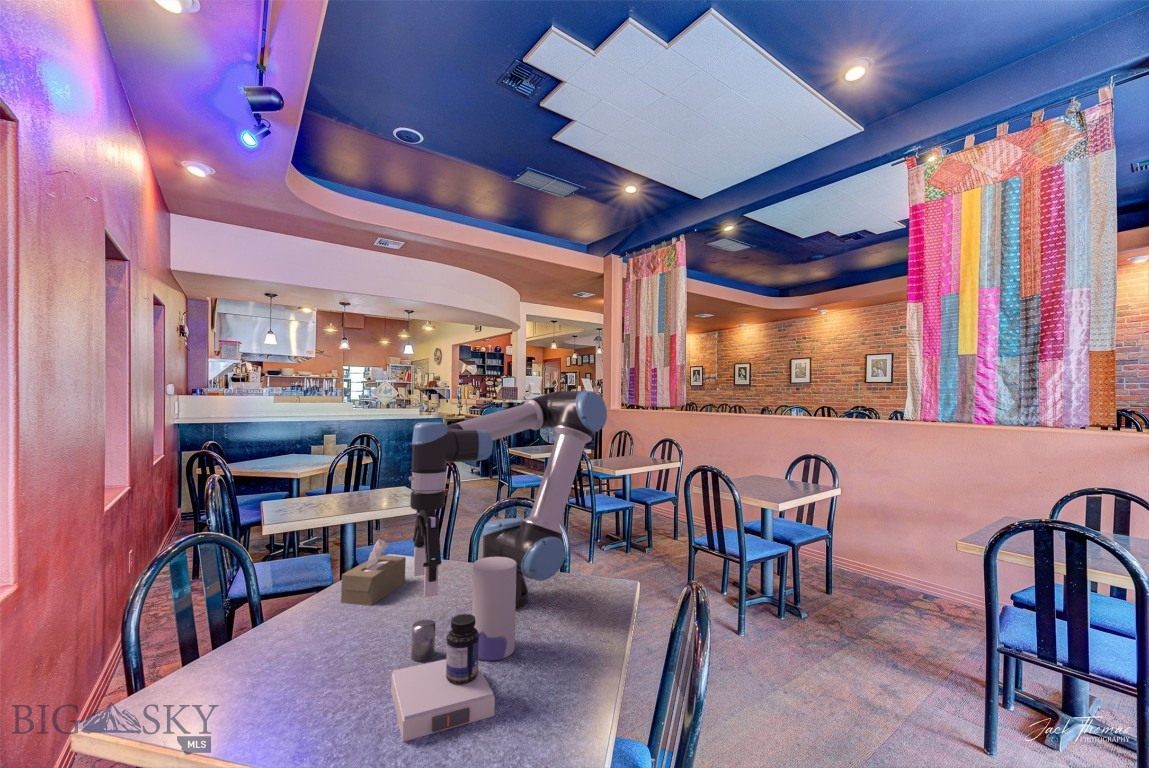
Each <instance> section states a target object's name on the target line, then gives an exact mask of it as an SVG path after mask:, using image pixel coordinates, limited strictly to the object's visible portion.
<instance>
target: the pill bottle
mask: <svg viewBox="0 0 1149 768" xmlns="http://www.w3.org/2000/svg"><path fill="white" fill-rule="evenodd" d="M474 626H475V617H474V616H473V615H472V614H470V613H461V614H457V615H455V616H453V617H452V618H451V620H450V628H451V630H450V631H448V634H447V635H446V658H445V659H446V678H447V680H448V681H449V682H451V683H454V684H465V683H468V682H470V681H472V680H473V679H475V678H476V676H477V674H478V667H479V659H478V650H479V633H478V631H477V629H476V628H474Z"/></svg>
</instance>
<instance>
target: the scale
mask: <svg viewBox="0 0 1149 768" xmlns="http://www.w3.org/2000/svg"><path fill="white" fill-rule="evenodd" d="M390 687H391V689H390V692H391V697H392V701H393V704H394V705H393V706H394V709H395V713H396V719H397V724H398V728H399V732H400V736H401V741H402V743H405V742H408V741H412V740H415V739H418V738H421V737H425V736H426V737H427V736H429V735H431V734H432V735H433V734H435V733H439V732H443V731H446V730H449V729H453V728H456V727H460V726H463V725H466V724H467V725H468V724H471V723H474V722H478V721H481V720H485V719H488V718H492V717H495V704H496V702H495V701H496V700H495V699H496V697H495V695H494V692H493V690H492V688H491V687H490V685H489V683H488V681H487V679H486V677H485V675H484V674H483V673H482V670H481V669H480V667H479V666H478V674H477V676H476V678H475V679H473V680H472V681H470V682H468V683H465V684H454V683H451V682H449V681H448V680H447V678H446V658H444V659H440V660H436V661H432V662H426V663H421V664H418V665H414V666H409V667H405V668H404V667H403V668H400V669H399V668H398V669H394V670H393V671H392V673H391V686H390Z"/></svg>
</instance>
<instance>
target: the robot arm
mask: <svg viewBox="0 0 1149 768" xmlns="http://www.w3.org/2000/svg"><path fill="white" fill-rule="evenodd" d="M607 419H608V409H607V406H606V402H605V401H604V399H603V397H602V396H601V395H600V394H599V393H597V392H595V391H591V390H585V389H584V390H557V391H552V392H550V393H546V394H542V395H539V396H537V397H533V398H529V399H527V400H525V401H524V403H522V404H521V405H517V406H513V407H510V408H507V409H506V408H505V409H502V410H499V411H496V412H491V413H488V414H484V415H481V416H478V417H477V416H476V417H474V418H470V419H466V420H461V421H459V422H456V423H452V424H448V425H447V423H445V422H433V421H432V422H429V421H428V422H427V421H425V422H417V423H415V425H414V426H413V433H412V442H411V444H412V446H411V449H412V453H411V455H412V456H411V457H412V458H411V474H412V476H411V475H409V477H408V481H410V482H411V483H410V485H411V490H412V491H411V492H410V501H409V503H410V505H409V506H410V508H411V509H412V510H414V511H416V516H415V522H414V531H413V538H412V541H413V546H414V550H413V551H414V553H413V554H414V555H413V577H421V576H424V582H423V583H424V584H423V597H424V598H428V597H436V596H438V590H439V589H438V588H439V587H438V586H439V566H440V565H442V556H441V555H442V554H441V539H440V517H439V516H436V511H437V510H441V509H442V508H444V507H445V505H446V492H445V491H444V489H446V485H447V484H446V483H447V482H446V481H447V463H448V464H449V463H460V462H462V463H463V462H478V461H482V460H487V459H489V457H490V456H491V455H492V453H493V445H494V442H493V441H495V440H499V439H502V438H505V437H508V436H511V435H513V434H517V433H520V432H524V431H527V430H529V429H530V430H533V431H538V430H541V429H547V428H548V429H550V428H551V429H553V430H554V432H555V433H556V438H555V440H554V443H553V446H552V449H551V452H550V455H549V458H548V462H547V465H546V467H545V470H544V472H543V476H542V478H541V482H540V485H539V488H538V490H537V494H536V497H535V501H534V503H533V505H532V509H531V512H530V515H529V516H527V517H526V518H524V519H523V518H519V517H518V518H516V517H515V518H514V517H512V518H499V519H495V520H494V519H493V520H490V521H487V522H486V523H484V526H483V533H482V534H483V535H482V537H483V540H482V542H483V543H482V558H487V557H506V558H511V559H513V560H515V561H516V563H517V566H516V608H515V610H516V609H519V608H520V609H521V607H523V606H525V605H526V604H527V603H528V601H529V589H528V586H527V582H526V578H527V579H531V580H535V581H540V582H541V581H546V580H549V579H551V578H552V577H553V576H555V575H556V574H557V573H558V572H559V571H560V570H561V567H562V565H563V564H564V561H565V557H566V549H565V545H564V543H563V541H562V537H563V530H562V529H561V526H560V525H561V522H562V518H563V515H564V511H565V509H566V506H567V502H568V499H569V496H570V493H571V490H572V487H573V484H574V480H575V477H576V474H577V472H578V471H577V470H578V468H579V464H580V461H581V458H582V455H583V451H584V448H585V445H586V444H589V443H590V442H592V441H593V437H594V434H595V433H597V432H599V431H600V430H601V429H603V428H604V427H605V424H606V423H607Z"/></svg>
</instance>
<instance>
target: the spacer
mask: <svg viewBox="0 0 1149 768" xmlns="http://www.w3.org/2000/svg"><path fill="white" fill-rule="evenodd" d="M411 627H412V628H411V633H412V634H411V660H412V662H416V663H424V662H428V661H431V660H432V659H433V658H435V656H436V653H435V651H436V621H435V620H432V619H420V620H417V621H415V622H414V623H413V624H412V626H411Z"/></svg>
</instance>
